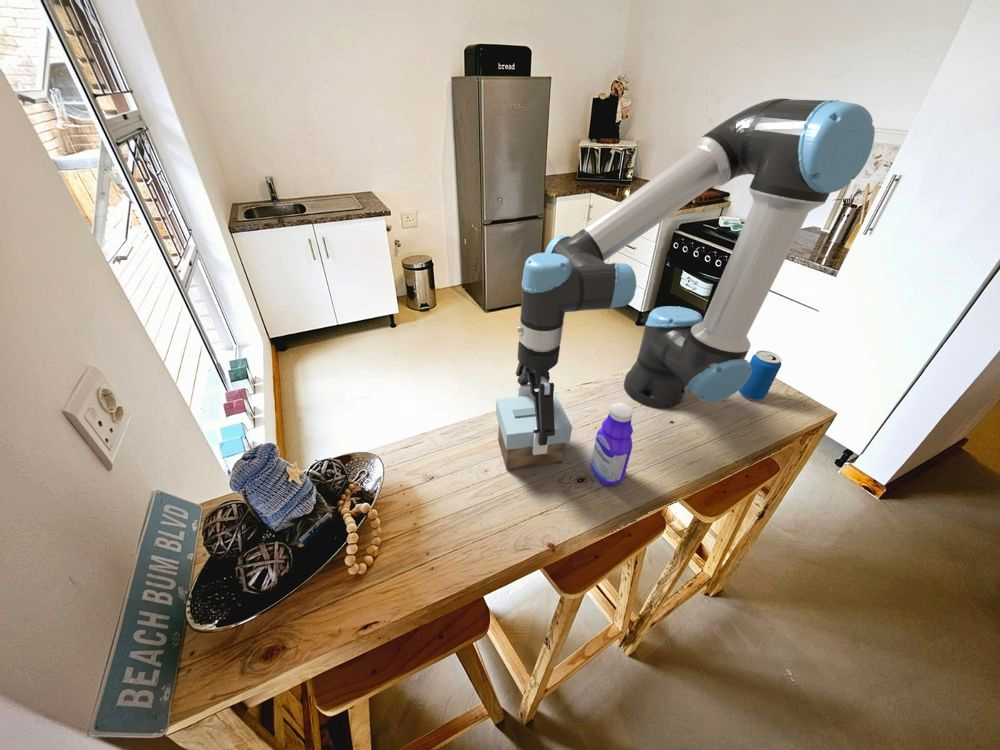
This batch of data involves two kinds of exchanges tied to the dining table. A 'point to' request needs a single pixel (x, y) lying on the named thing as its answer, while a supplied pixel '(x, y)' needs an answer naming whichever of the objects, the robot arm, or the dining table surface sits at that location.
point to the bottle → (613, 446)
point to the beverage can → (761, 375)
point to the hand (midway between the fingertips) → (530, 429)
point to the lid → (528, 422)
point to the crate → (530, 455)
